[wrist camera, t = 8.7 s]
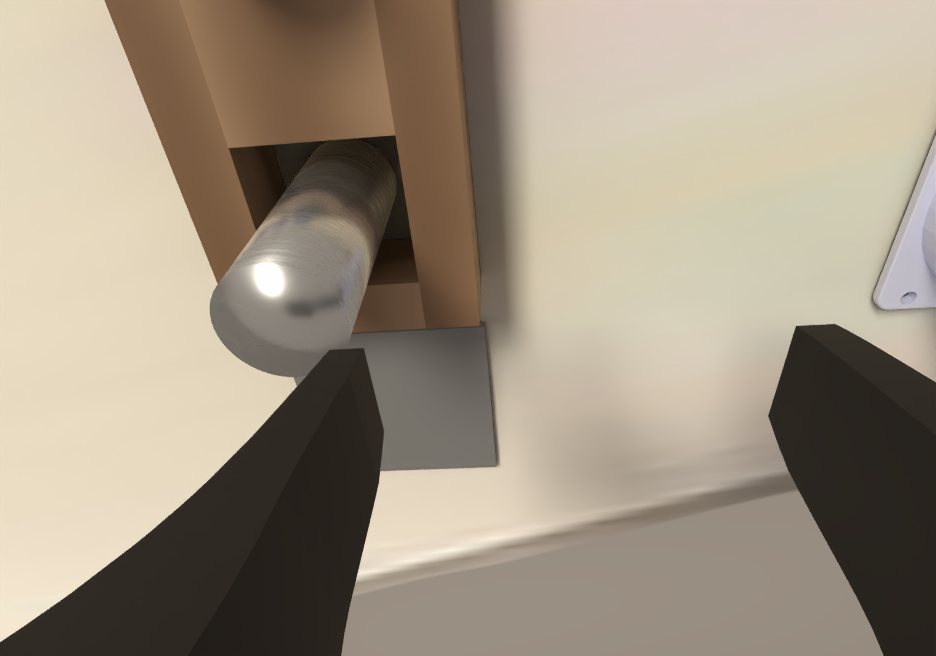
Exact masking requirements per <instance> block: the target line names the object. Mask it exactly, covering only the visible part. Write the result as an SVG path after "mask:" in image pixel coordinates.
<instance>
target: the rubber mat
mask: <svg viewBox="0 0 936 656" xmlns="http://www.w3.org/2000/svg"><path fill="white" fill-rule="evenodd" d="M354 348H364V350H365V354H366V359H367V363H368V367H369V371H370V375H371V379H372V383H373V387H374V391H375V396H376V400H377V404H378V408H379V412H380V416H381V420H382V424H383V428H384V439H383V449H382V459H381V467H380V471H390V470H419V469H448V468H477V467H496V453H495V441H494V429H493V417H492V405H491V393H490V381H489V369H488V357H487V346H486V334H485V322H481V323H480V326H468V327H449V328H430V329H411V330H392V331H373V332H354V333H352V334H351V337H350V340H349V343H348V346H347V349H354ZM305 377H306V376H303V377H294V379H295V382H296V385H297V386H298V385H299V384H300V383H301V381H302V380H303V379H304V378H305Z"/></svg>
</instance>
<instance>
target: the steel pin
mask: <svg viewBox="0 0 936 656" xmlns="http://www.w3.org/2000/svg"><path fill="white" fill-rule="evenodd" d="M396 192H397V181H396V176H395V173H394V170H393V168H392V166H391V164H390V162H389V161H388V159H387V158H386V157H385V155H384V154H383V153H382V152H381V151H379V150H378V149H377V148H376V147H374V146H373V145H371V144H369V143H367V142H365V141H363V140H360V139H356V138H352V139H339V140H329V141H327V142H325V143H323V144H322V145H320V146H319V147H318V148H317V149H316V150H315V151H314V152H313V153H312V155H311V156H310V157H309V159H308V160H307V162H306V163H305V164H304V166H303V167H302V169H301V170H300V171H299V173H298V174H297V175H296V177H295V178H294V180H293V181H292V182H291V184H290V185H289V187H288V188H287V189H286V191H285V192H284V193H283V195H282V196H281V198H280V199H279V200H278V202H277V203H276V205H275V206H274V207H273V209H272V210H271V211H270V213H269V214H268V216H267V217H266V218H265V220H264V221H263V223H262V224H261V225H260V227H259V228H258V230H257V231H256V232H255V234H254V235H253V236H252V238H251V239H250V241H249V242H248V243H247V245H246V246H245V248H244V249H243V250H242V252H241V253H240V254H239V256H238V257H237V259H236V260H235V261H234V263H233V264H232V266H231V267H230V268H229V270H228V271H227V272H226V274H225V275H224V277H223V278H222V279H221V281H220V282H219V284H218V285H217V286H216V288H215V290H214V292H213V294H212V297H211V302H210V316H211V321H212V324H213V327H214V329H215V331H216V333H217V335H218V337H219V338H220V340H221V341H222V343H223V344H224V345H225V346H226V347H227V349H229V350H230V351H231V352H232V353H233V354H234V355H235V356H236V357H238V358H239V359H240V360H242V361H243V362H245V363H247V364H248V365H250V366H252V367H254V368H256V369H258V370H261V371H263V372H267V373H270V374H273V375H278V376H285V377H303V376H307V374H308V373H309V372H310V371H311V370H312V369H313V368H314V366H315V365H316V364H317V363H318V362H319V361H320V360H321V359H322V358H323V357H324V355H325V354H326V353H327V352H328V351H329V350H334V349H347V346H348V343H349V340H350V337H351V334H352V331H353V327H354V324H355V321H356V318H357V315H358V312H359V309H360V306H361V303H362V299H363V296H364V293H365V290H366V287H367V284H368V281H369V278H370V275H371V272H372V268H373V265H374V262H375V259H376V256H377V253H378V250H379V247H380V244H381V240H382V237H383V234H384V231H385V228H386V225H387V222H388V219H389V216H390V213H391V209H392V206H393V203H394V200H395V197H396Z"/></svg>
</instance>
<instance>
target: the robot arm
mask: <svg viewBox="0 0 936 656" xmlns="http://www.w3.org/2000/svg"><path fill="white" fill-rule="evenodd" d="M908 292H909V293H908ZM906 293H908V295H906V296H905V297H902V296H903V295H904V294H906ZM901 297H902V298H901ZM873 300H874V302H875V303H876V304H877V305H878V306H879V307H880V308H882V309H886V310H893V309H912V308H931V307H936V135H935V138H934V141H933V143H932V146H931V148H930V151H929V153H928V156H927V159H926V161H925V164H924V166H923V169H922V171H921V174H920V176H919V179H918V182H917V184H916V187H915V189H914V192H913V194H912V197H911V199H910V202H909V205H908V207H907V210H906V212H905V215H904V217H903V220H902V223H901V225H900V228H899V230H898V233H897V235H896V238H895V240H894V243H893V246H892V248H891V251H890V253H889V256H888V258H887V261H886V264H885V266H884V269H883V271H882V274H881V276H880V279H879V281H878V284H877V287H876V289H875V292H874V294H873ZM768 417H769V420H770V422H771V425H772V428H773V431H774V434H775V437H776V440H777V442H778V445H779V448H780V450H781V453H782V455H783V458H784V461H785V463H786V466H787V468H788V471H789V473H790V474H791V476H792V478H793V480H794V482H795V484H796V486H797V488H798V490H799V492H800V493H801V495H802V497H803V499H804V501H805V503H806V504H807V507H808V508H809V510H810V512H811V514H812V516H813V518H814V520H815V521H816V523H817V525H818V527H819V529H820V531H821V532H822V534H823V536H824V538H825V540H826V541H827V543H828V545H829V547H830V549H831V551H832V552H833V554H834V556H835V558H836V560H837V562H838V563H839V565H840V567H841V569H842V571H843V573H844V574H845V576H846V578H847V580H848V581H849V584H850V585H851V587H852V589H853V591H854V593H855V594H856V596H857V598H858V600H859V602H860V604H861V606H862V608H863V610H864V612H865V615H866V617H867V619H868V620H869V623H870V625H871V627H872V629H873V631H874V634H875V636H876V638H877V641H878V643H879V645H880V648H881V650H882V652H883V655H884V656H936V382H934V381H933V380H931V379H929V378H928V377H926V376H924V375H923V374H921V373H919V372H918V371H916V370H914V369H913V368H911V367H909V366H908V365H906V364H904V363H903V362H901V361H899V360H898V359H896V358H894V357H893V356H891V355H889V354H888V353H886V352H884V351H883V350H881V349H879V348H877V347H876V346H874V345H872V344H871V343H869V342H867V341H866V340H864V339H862V338H860V337H859V336H857V335H855V334H853V333H851V332H849V331H848V330H846V329H844V328H842V327H840V326H838V325H836V324H827V325H807V326H796V328H795V331H794V334H793V338H792V341H791V344H790V347H789V351H788V354H787V357H786V360H785V364H784V367H783V370H782V373H781V377H780V380H779V383H778V386H777V390H776V393H775V396H774V399H773V403H772V406H771V409H770V412H769V415H768ZM383 439H384V428H383V424H382V420H381V416H380V412H379V408H378V404H377V400H376V396H375V391H374V387H373V383H372V379H371V375H370V371H369V367H368V363H367V359H366V354H365V350H364V348H354V349H334V350H329V351H328V352H327V353H326V354H325V355H324V357H323V358H322V359H321V360H320V361H319V362H318V363H317V364H316V365H315V366H314V368H313V369H312V370H311V371H310V372H309V373H308V374H307V376H306V377H305V378H304V379H303V380H302V381H301V383H300V384H299V385H298V386H297V387H296V388H295V389H294V391H293V392H292V393H291V394H290V395H289V396H288V397H287V399H286V400H285V401H284V402H283V403H282V404H281V405H280V406H279V408H278V409H277V410H276V411H275V412H274V413H273V414H272V415H271V416H270V417H269V419H268V420H267V421H266V422H265V423H264V424H263V425H262V426H261V427H260V428H259V429H258V431H257V432H256V433H255V434H254V435H253V436H252V437H251V438H250V439H249V440H248V441H247V442H246V443H245V444H244V445H243V446H242V447H241V448H240V449H239V450H238V451H237V452H236V453H235V454H234V455H233V456H232V457H231V458H230V459H229V460H228V461H227V462H226V463H225V464H224V465H223V466H222V467H221V468H220V469H219V470H218V471H217V472H216V473H215V474H214V475H213V476H212V477H211V478H210V479H209V480H208V481H207V482H206V483H205V484H204V485H203V486H202V487H201V488H200V489H199V490H198V491H197V492H196V493H194V494H193V495H192V496H191V497H190V498H189V499H188V500H187V501H186V502H184V503H183V504H182V505H181V506H180V507H179V508H178V509H176V510H175V511H174V512H173V513H172V514H171V515H169V516H168V517H167V518H166V519H165V520H164V521H162V522H161V523H160V524H159V525H158V526H157V527H155V528H154V529H153V530H152V531H151V532H150V533H148V534H147V535H146V536H145V537H143V538H142V539H141V540H140V541H139V542H137V543H136V544H135V545H134V546H132V547H131V548H130V549H128V550H127V551H126V552H124V553H123V554H122V555H120V556H119V557H118V558H117V559H115V560H114V561H113V562H111V563H110V564H109V565H107V566H106V567H105V568H103V569H102V570H101V571H100V572H98V573H97V574H96V575H94V576H93V577H92V578H90V579H89V580H88V581H86V582H85V583H84V584H83V585H81V586H80V587H79V588H77V589H76V590H75V591H73V592H72V593H71V594H69V595H68V596H67V597H65V598H64V599H62V600H61V601H60V602H58V603H57V604H55V605H54V606H52V607H51V608H50V609H48V610H47V611H45V612H44V613H42V614H41V615H40V616H38V617H37V618H35V619H34V620H32V621H31V622H30V623H28V624H27V625H25V626H24V627H22V628H21V629H19V630H18V631H16V632H15V633H13V634H12V635H10V636H9V637H7V638H6V639H4V640H3V641H1V642H0V656H341V653H342V645H343V639H344V632H345V627H346V622H347V617H348V612H349V607H350V602H351V598H352V594H353V590H354V586H355V582H356V577H357V573H358V569H359V565H360V561H361V557H362V552H363V548H364V544H365V540H366V536H367V532H368V527H369V523H370V519H371V515H372V510H373V506H374V502H375V497H376V493H377V488H378V484H379V476H380V467H381V459H382V449H383Z"/></svg>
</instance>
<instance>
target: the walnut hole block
mask: <svg viewBox="0 0 936 656" xmlns="http://www.w3.org/2000/svg"><path fill="white" fill-rule="evenodd" d="M105 3H106V5H107V8H108V10H109V13H110V15H111V18H112V20H113V23H114V25H115V28H116V30H117V33H118V35H119V38H120V40H121V43H122V45H123V48H124V50H125V53H126V55H127V58H128V60H129V63H130V65H131V68H132V70H133V73H134V75H135V78H136V80H137V83H138V85H139V88H140V90H141V93H142V95H143V98H144V100H145V103H146V105H147V108H148V110H149V113H150V115H151V118H152V120H153V123H154V125H155V128H156V130H157V133H158V135H159V138H160V140H161V143H162V145H163V148H164V150H165V153H166V155H167V158H168V160H169V163H170V165H171V168H172V170H173V173H174V175H175V178H176V180H177V183H178V185H179V188H180V190H181V193H182V195H183V198H184V201H185V203H186V206H187V208H188V211H189V213H190V216H191V218H192V221H193V223H194V226H195V228H196V231H197V233H198V236H199V238H200V241H201V243H202V246H203V248H204V251H205V253H206V256H207V258H208V261H209V263H210V266H211V268H212V271H213V273H214V276H215V278H216V281H217V283H218V284H219V282H220V281H221V279H222V278H223V277H224V275H225V274H226V272H227V271H228V270H229V268H230V267H231V266H232V264H233V263H234V261H235V260H236V259H237V257H238V256H239V254H240V253H241V252H242V250H243V249H244V248H245V246H246V245H247V243H248V242H249V241H250V239H251V238H252V236H253V235H254V234H255V232H256V231H257V230H258V228H259V227H260V225H261V224H262V223H263V221H264V220H265V218H266V217H267V216H268V214H269V213H270V211H271V210H272V209H273V207H274V206H275V205H276V203H277V202H278V200H279V199H280V198H281V196H282V195H283V193H284V192H285V191H286V190H285V187H284V183H283V180H282V176H281V173H280V169H279V166H278V162H277V159H276V155H275V152H274V148H273V145H275V144H288V143H301V142H314V141H327V140H339V139H352V138H365V137H378V136H391V135H395V136H396V143H397V149H398V155H399V161H400V168H401V174H402V180H403V187H404V193H405V199H406V206H407V212H408V218H409V225H410V231H411V237H412V239H397V240H382V241H381V244H380V247H379V250H378V253H377V256H376V259H375V262H374V265H373V268H372V272H371V275H370V278H369V281H368V284H367V287H366V290H365V293H364V296H363V299H362V303H361V306H360V309H359V312H358V315H357V318H356V321H355V324H354V327H353V331H352V333H354V332H373V331H392V330H411V329H430V328H449V327H468V326H480V293H481V274H480V262H479V250H478V238H477V226H476V214H475V203H474V191H473V179H472V167H471V155H470V143H469V131H468V119H467V107H466V95H465V83H464V72H463V60H462V48H461V36H460V24H459V12H458V0H105Z"/></svg>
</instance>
